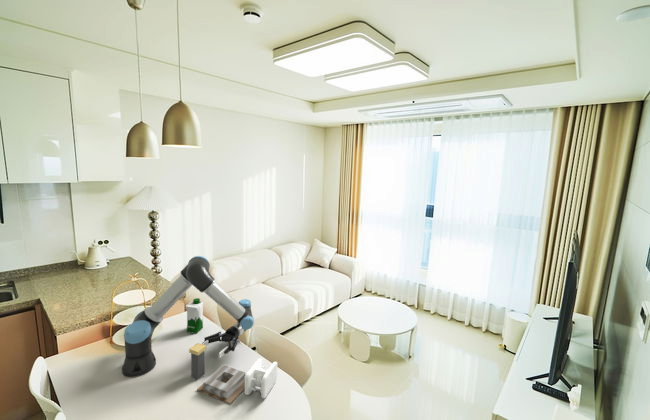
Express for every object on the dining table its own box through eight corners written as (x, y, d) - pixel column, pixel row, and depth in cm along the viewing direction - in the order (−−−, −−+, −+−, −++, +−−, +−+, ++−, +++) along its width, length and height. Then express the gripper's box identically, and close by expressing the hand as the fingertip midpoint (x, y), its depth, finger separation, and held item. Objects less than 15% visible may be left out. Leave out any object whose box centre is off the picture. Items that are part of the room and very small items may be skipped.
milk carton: (205, 327, 195) (204, 298, 192) (196, 334, 186) (196, 305, 183) (192, 325, 196) (192, 297, 193) (184, 332, 187) (183, 303, 184)
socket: (196, 390, 141) (196, 381, 140) (219, 370, 156) (219, 361, 155) (230, 404, 134) (230, 395, 133) (251, 381, 149) (251, 373, 148)
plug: (189, 377, 149) (189, 348, 147) (198, 370, 155) (197, 342, 152) (198, 381, 147) (197, 351, 145) (206, 373, 153) (206, 345, 150)
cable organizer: (263, 403, 136) (264, 380, 134) (243, 397, 139) (243, 375, 137) (277, 381, 150) (278, 360, 149) (258, 376, 153) (259, 355, 151)
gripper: (251, 343, 172) (228, 365, 152) (217, 332, 181) (190, 352, 161) (252, 331, 171) (228, 352, 151) (217, 321, 180) (190, 339, 160)
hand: (208, 352), depth 156 cm, fingers open, 13 cm apart
